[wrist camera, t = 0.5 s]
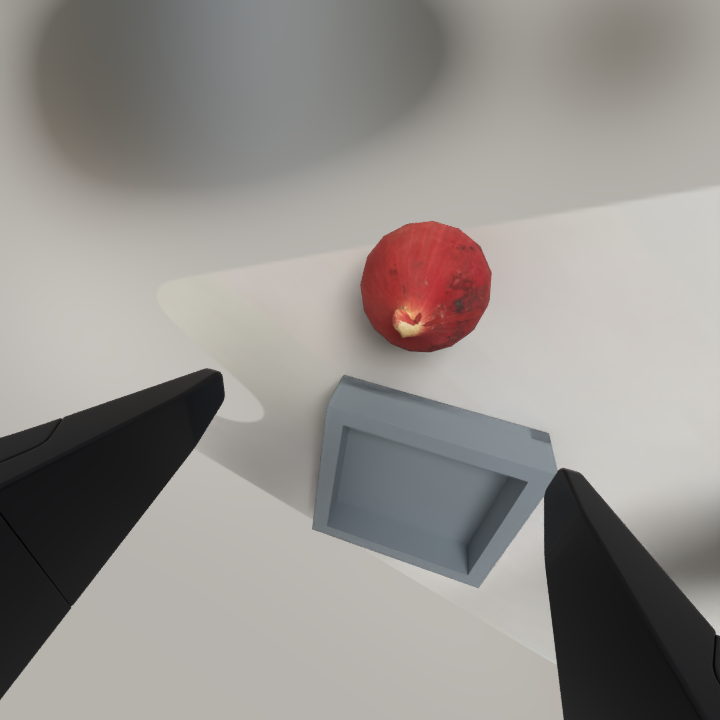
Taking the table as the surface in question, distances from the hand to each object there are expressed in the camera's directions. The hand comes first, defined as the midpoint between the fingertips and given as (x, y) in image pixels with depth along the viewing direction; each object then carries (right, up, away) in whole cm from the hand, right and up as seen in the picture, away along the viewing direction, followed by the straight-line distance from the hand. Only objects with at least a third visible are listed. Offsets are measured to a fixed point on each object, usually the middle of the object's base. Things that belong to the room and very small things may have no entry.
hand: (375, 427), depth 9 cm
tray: (+4, -7, +19) cm, 20 cm away
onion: (+4, +7, +10) cm, 13 cm away
